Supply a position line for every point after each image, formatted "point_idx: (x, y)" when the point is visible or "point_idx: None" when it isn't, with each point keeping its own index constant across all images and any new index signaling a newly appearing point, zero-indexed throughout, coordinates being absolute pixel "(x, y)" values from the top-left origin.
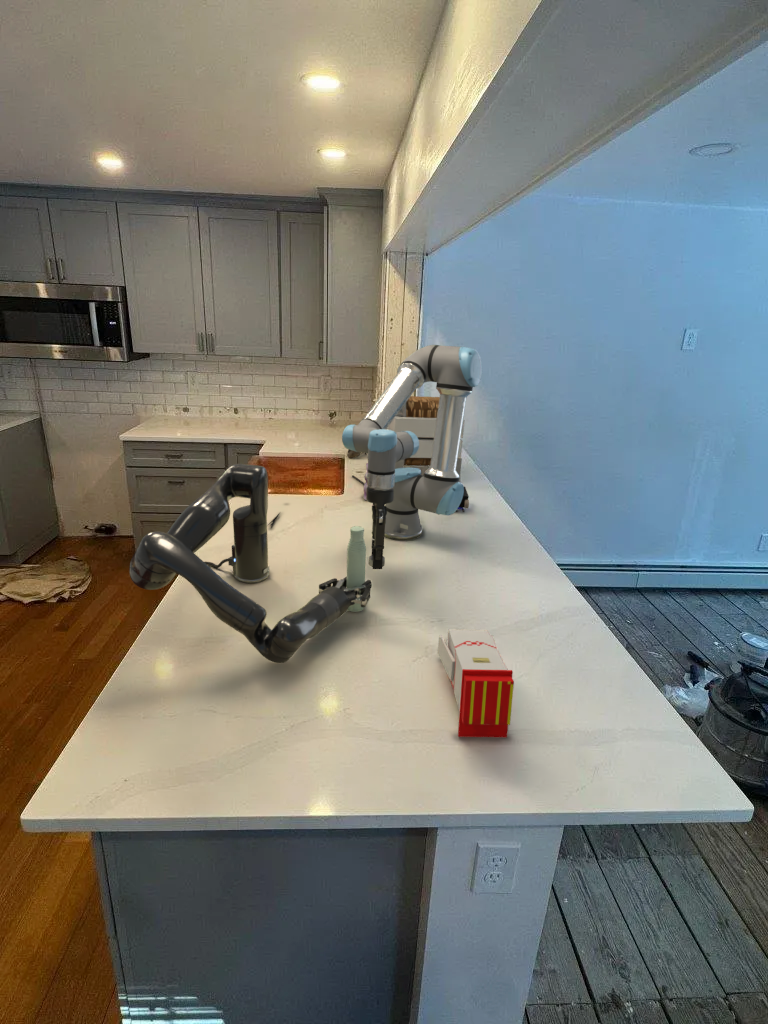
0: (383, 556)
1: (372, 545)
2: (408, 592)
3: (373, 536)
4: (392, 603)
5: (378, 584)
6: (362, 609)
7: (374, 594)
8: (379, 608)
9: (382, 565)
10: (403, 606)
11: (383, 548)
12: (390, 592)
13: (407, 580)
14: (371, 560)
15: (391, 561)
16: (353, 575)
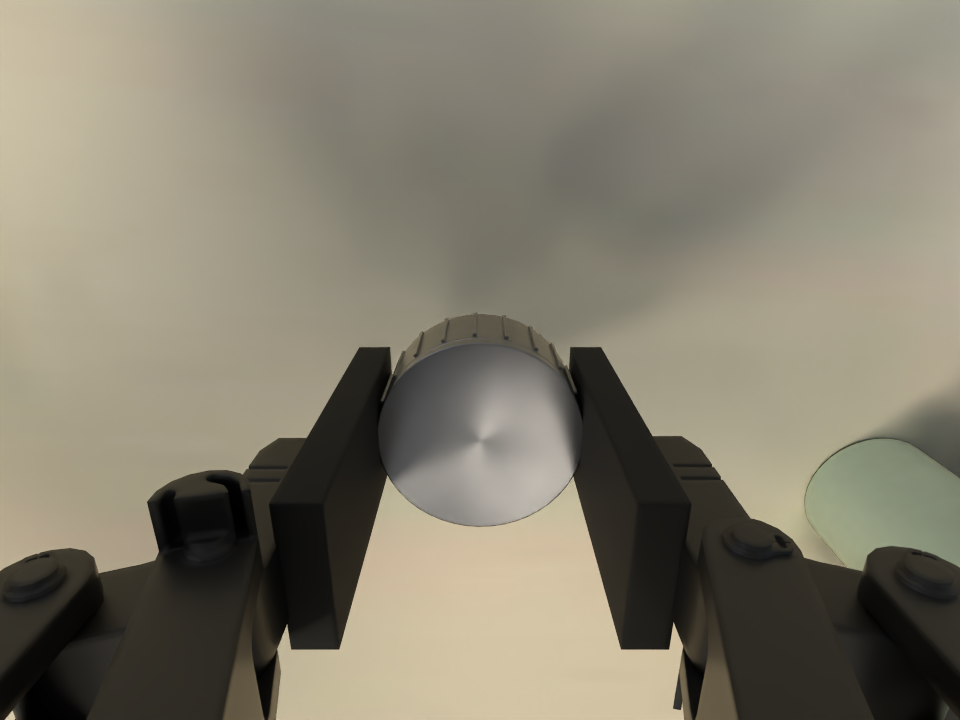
0: (435, 356)
1: (355, 578)
2: (707, 40)
3: (274, 700)
4: (878, 222)
5: (529, 312)
6: (921, 451)
7: (700, 354)
8: (927, 332)
9: (553, 349)
10: (955, 128)
11: (953, 571)
12: (683, 221)
13: (448, 15)
14: (546, 499)
15: (16, 146)
16: None
